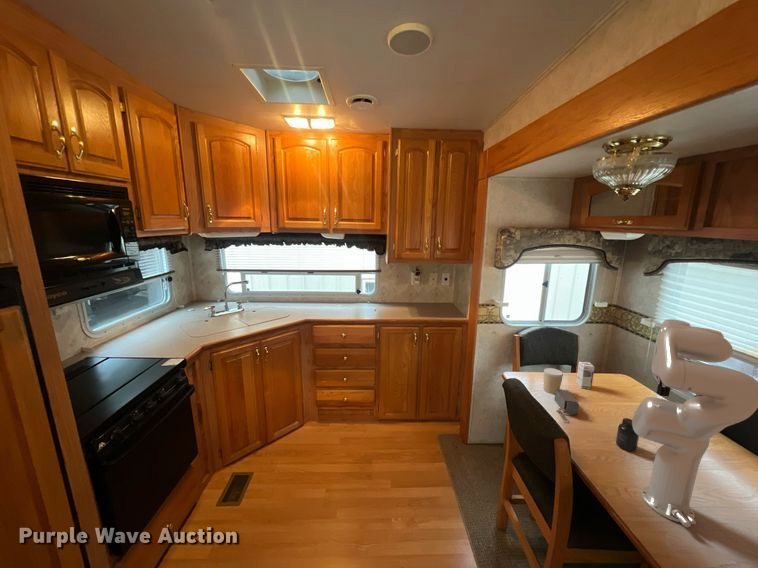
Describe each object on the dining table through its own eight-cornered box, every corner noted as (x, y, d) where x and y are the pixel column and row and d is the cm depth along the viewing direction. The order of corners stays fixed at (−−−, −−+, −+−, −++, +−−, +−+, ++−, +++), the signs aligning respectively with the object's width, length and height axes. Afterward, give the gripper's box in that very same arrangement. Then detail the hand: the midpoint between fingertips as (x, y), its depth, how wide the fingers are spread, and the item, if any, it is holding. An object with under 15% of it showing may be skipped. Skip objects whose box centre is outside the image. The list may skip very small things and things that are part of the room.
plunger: (577, 414, 142) (579, 404, 141) (559, 412, 144) (560, 402, 143) (567, 402, 153) (569, 392, 152) (550, 400, 154) (551, 390, 153)
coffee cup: (564, 395, 161) (566, 375, 159) (547, 395, 161) (550, 375, 159) (554, 386, 170) (556, 367, 168) (538, 386, 170) (540, 367, 168)
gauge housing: (584, 424, 136) (586, 412, 135) (563, 422, 138) (564, 410, 137) (566, 401, 155) (567, 390, 154) (547, 399, 157) (549, 388, 156)
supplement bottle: (640, 453, 118) (645, 428, 116) (621, 451, 120) (626, 425, 118) (629, 442, 125) (634, 417, 123) (611, 439, 126) (616, 415, 124)
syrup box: (580, 388, 168) (584, 365, 165) (575, 383, 174) (578, 361, 171) (591, 389, 167) (595, 366, 164) (586, 384, 173) (589, 361, 170)
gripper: (700, 360, 102) (690, 407, 106) (666, 345, 117) (658, 386, 120) (676, 359, 104) (666, 404, 107) (645, 343, 118) (638, 384, 121)
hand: (662, 394), depth 113 cm, fingers closed
